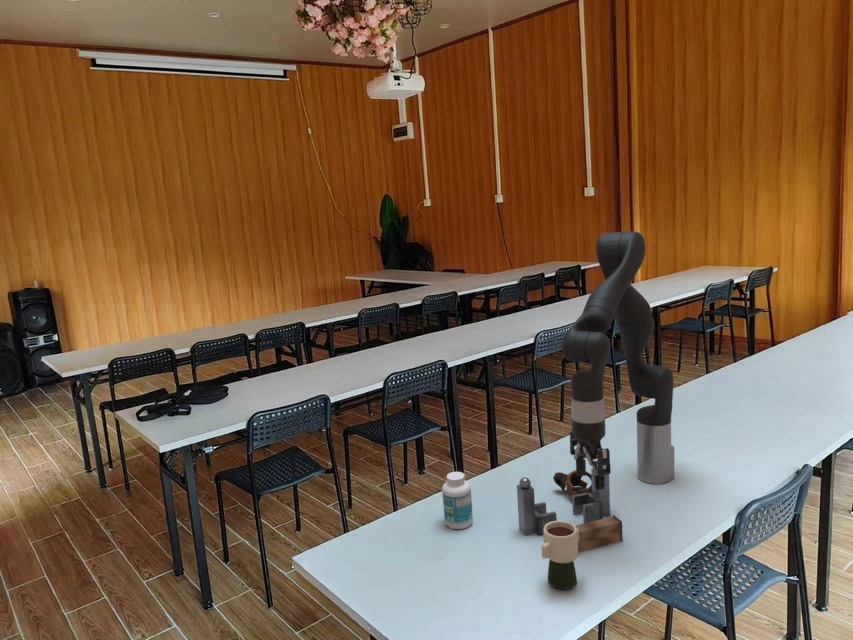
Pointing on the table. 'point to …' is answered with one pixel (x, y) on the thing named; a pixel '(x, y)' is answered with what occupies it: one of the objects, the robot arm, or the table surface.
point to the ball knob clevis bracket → (537, 518)
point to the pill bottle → (457, 501)
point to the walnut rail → (599, 533)
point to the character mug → (561, 553)
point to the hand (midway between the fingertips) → (590, 481)
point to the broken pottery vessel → (572, 482)
